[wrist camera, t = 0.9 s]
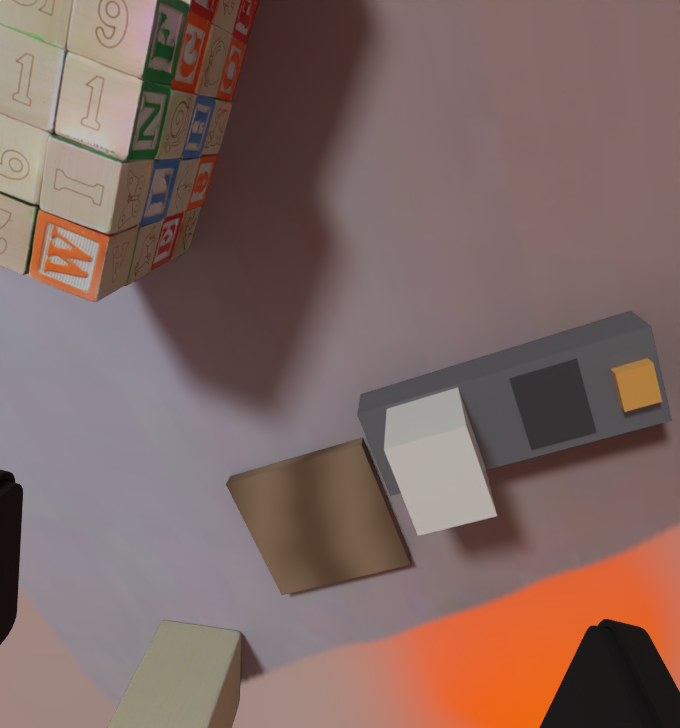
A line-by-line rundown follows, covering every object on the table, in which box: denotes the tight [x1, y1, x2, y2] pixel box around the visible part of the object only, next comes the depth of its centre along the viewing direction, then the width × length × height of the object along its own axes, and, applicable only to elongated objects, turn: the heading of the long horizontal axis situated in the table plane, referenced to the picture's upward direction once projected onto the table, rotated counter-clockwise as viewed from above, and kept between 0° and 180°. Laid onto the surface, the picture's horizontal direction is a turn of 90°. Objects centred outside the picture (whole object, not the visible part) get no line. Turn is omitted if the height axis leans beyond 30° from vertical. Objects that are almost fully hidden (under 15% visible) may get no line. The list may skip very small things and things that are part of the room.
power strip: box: [357, 311, 672, 496], centre depth 36 cm, size 17×6×4 cm, turn 111°
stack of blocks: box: [0, 0, 259, 302], centre depth 27 cm, size 21×6×12 cm, turn 159°
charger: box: [384, 388, 497, 536], centre depth 34 cm, size 4×6×7 cm
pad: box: [226, 438, 411, 595], centre depth 42 cm, size 10×10×1 cm
